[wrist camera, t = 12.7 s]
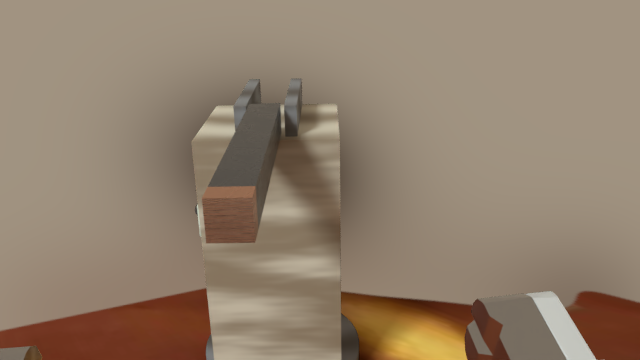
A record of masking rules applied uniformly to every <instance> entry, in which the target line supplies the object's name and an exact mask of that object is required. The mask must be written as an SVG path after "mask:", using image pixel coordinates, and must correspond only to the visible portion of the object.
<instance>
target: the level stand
mask: <svg viewBox="0 0 640 360" xmlns="http://www.w3.org/2000/svg"><path fill="white" fill-rule="evenodd" d="M301 84H302V82H301V79H291V82H290V85H289V89H288V93H287V96H286V100H285V104H284V105H280V109H281V131H282V133H281V138H280V142H279V146H278V150H277V154H276V158H275V163H274V167H273V171H272V175H271V179H270V183H269V188H268V192H267V196H266V200H265V204H264V209H263V213H262V217H261V221H260V225H259V229H258V234H257V238H256V242H255V243H206V236H205V226H204V216H203V206H202V197H203V195H204V193H205V191H206V189H207V187H208V185H209V183H210V181H211V179H212V177H213V175H214V173H215V171H216V169H217V167H218V165H219V163H220V161H221V159H222V157H223V155H224V153H225V151H226V149H227V147H228V145H229V143H230V141H231V139H232V137H233V135H234V133H235V131H236V129H237V127H238V125H239V123H240V121H241V119H242V117H243V115H244V113H245V111H246V109H247V107H248V105H249V104H261V94H260V79H251V80H249V81H248V83H247V85H246V87H245V88H244V90H243V91H242V93H241V95H240V96H239V98H238V100H237V101H236V103H235V105H234V106H217V107H216V108H215V109H214V111H213V113H212V114H211V115H210V117H209V118H208V119H207V121H206V122H205V123H204V125H203V126H202V128H201V129H200V130H199V132H198V133H197V135H196V136H195V137H194V139H193V140H192V142H191V143H192V153H193V162H194V172H195V181H196V191H197V200H198V204H197V205H196V207H195V212H196V214H197V216H198V221H199V230H200V236H201V238H202V248H203V258H204V267H205V276H206V286H207V296H208V306H209V315H210V325H211V335H210V337H209V339H208V342H207V347H206V358H207V360H359V338H358V334H357V332H356V329H355V327H354V326H353V324H352V323H351V322H350V321H349V320H348V319H347V318H346V317H345V316H344V315H343V314H341V260H340V259H341V257H340V256H341V253H340V251H341V249H340V137H339V126H338V115H337V104H305V105H304V104H302V85H301Z"/></svg>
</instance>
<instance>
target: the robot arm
mask: <svg viewBox="0 0 640 360" xmlns="http://www.w3.org/2000/svg"><path fill="white" fill-rule="evenodd" d="M471 313H472V315H473V317H474V321H473V322H471V323H470V324H469V325H468V326H467V329H466V334H465V351H466V355H467V359H468V360H596V358H595V356H594V355H593V353H592V351H591V350H590V348H589V347H588V345H587V343H586V342H585V340H584V339H583V337H582V335H581V334H580V332H579V331H578V329H577V327H576V326H575V324H574V322H573V321H572V319H571V318H570V316H569V314H568V313H567V311H566V310H565V308H564V306H563V305H562V303H561V302H560V300H559V298H558V297H557V295H556V294H554V293H553V292H552V291H548V292H538V293H529V294H515V295H506V296H498V297H489V298H481V299H477V300H476V301H475V302H474V303H473V306H472V310H471ZM41 359H42V356H41V354H40V352H39V350H38V348H37V347H36V346H29V347H17V348H4V349H0V360H41Z"/></svg>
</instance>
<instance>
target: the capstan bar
mask: <svg viewBox="0 0 640 360" xmlns="http://www.w3.org/2000/svg"><path fill="white" fill-rule="evenodd" d="M281 133H282V131H281V109H280V103H270V104H249V105H248V107H247V109H246V111H245V113H244V115H243V117H242V119H241V121H240V123H239V125H238V127H237V129H236V131H235V133H234V135H233V137H232V139H231V141H230V143H229V145H228V147H227V149H226V151H225V153H224V155H223V157H222V159H221V161H220V163H219V165H218V167H217V169H216V171H215V173H214V175H213V177H212V179H211V181H210V183H209V185H208V187H207V189H206V191H205V193H204V195H203V197H202V206H203V216H204V226H205V236H206V243H255V242H256V238H257V234H258V229H259V225H260V221H261V217H262V213H263V209H264V204H265V200H266V196H267V192H268V188H269V183H270V179H271V175H272V171H273V167H274V163H275V158H276V154H277V150H278V146H279V142H280V138H281Z"/></svg>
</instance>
